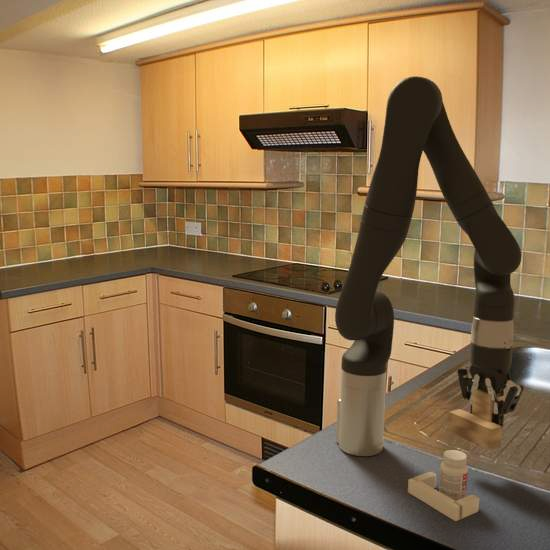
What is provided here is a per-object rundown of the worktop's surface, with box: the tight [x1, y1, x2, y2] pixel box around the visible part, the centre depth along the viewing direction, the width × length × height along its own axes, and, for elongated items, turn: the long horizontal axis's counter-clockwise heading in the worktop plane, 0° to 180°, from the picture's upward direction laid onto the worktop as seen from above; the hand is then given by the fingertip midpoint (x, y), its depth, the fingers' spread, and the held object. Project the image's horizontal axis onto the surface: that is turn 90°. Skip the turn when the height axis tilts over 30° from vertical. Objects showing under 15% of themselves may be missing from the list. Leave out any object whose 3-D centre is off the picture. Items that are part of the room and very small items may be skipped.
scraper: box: [447, 389, 503, 451], centre depth 115 cm, size 10×7×9 cm
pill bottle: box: [438, 449, 469, 501], centre depth 107 cm, size 5×5×8 cm
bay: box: [407, 471, 480, 522], centre depth 107 cm, size 11×6×2 cm, turn 33°
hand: (486, 426), depth 117 cm, fingers closed on scraper, 4 cm apart
